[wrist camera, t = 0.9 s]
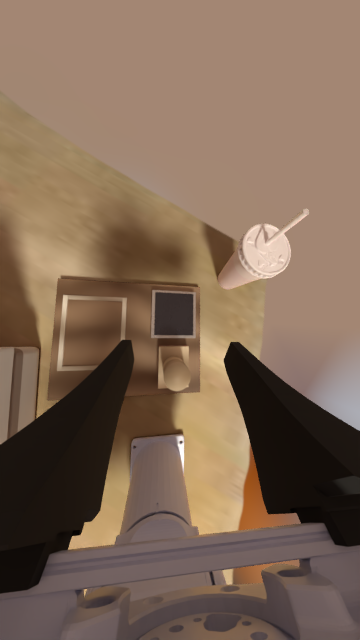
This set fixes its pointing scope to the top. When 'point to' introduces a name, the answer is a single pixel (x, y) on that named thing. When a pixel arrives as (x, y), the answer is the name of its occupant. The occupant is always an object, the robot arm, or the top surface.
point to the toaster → (17, 389)
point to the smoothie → (259, 254)
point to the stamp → (173, 367)
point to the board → (112, 334)
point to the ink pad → (173, 314)
